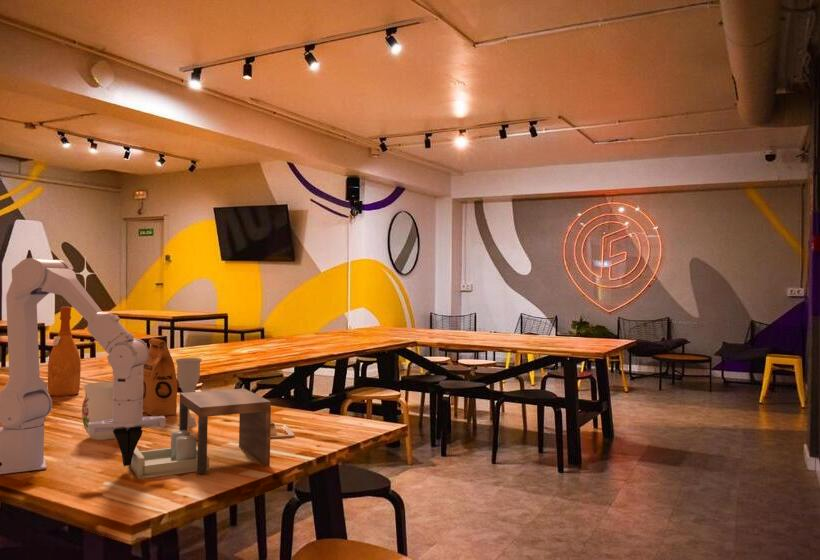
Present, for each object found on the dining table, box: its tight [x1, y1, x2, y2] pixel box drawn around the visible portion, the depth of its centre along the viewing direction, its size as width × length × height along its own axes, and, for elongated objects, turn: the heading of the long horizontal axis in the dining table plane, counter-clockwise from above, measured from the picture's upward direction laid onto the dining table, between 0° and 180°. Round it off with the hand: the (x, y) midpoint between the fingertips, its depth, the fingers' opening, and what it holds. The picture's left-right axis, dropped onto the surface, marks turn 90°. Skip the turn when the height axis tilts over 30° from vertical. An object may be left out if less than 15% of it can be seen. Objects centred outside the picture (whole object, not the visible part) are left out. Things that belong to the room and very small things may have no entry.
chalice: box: [175, 357, 202, 428], centre depth 178 cm, size 7×7×18 cm
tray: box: [129, 429, 210, 480], centre depth 138 cm, size 14×12×6 cm
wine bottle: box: [47, 305, 82, 397], centre depth 220 cm, size 10×10×30 cm
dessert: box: [270, 419, 296, 439], centre depth 170 cm, size 12×12×5 cm
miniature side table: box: [178, 387, 272, 477], centre depth 144 cm, size 15×19×14 cm
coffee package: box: [143, 337, 178, 417], centre depth 193 cm, size 10×12×22 cm
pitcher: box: [81, 381, 116, 441], centre depth 164 cm, size 11×18×14 cm, turn 34°
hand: (126, 464), depth 134 cm, fingers closed
